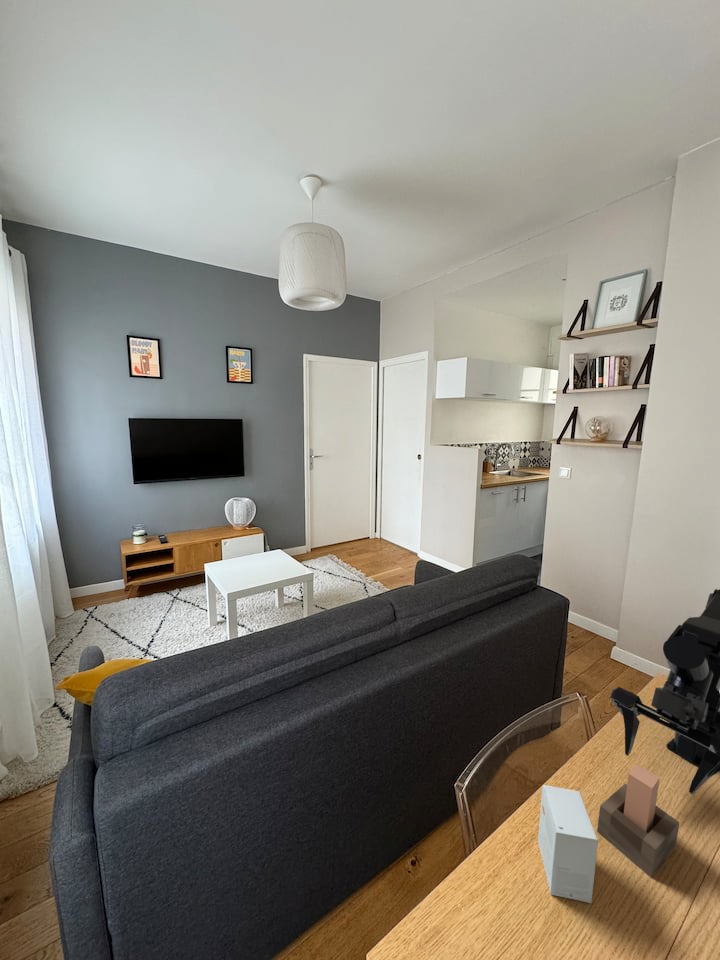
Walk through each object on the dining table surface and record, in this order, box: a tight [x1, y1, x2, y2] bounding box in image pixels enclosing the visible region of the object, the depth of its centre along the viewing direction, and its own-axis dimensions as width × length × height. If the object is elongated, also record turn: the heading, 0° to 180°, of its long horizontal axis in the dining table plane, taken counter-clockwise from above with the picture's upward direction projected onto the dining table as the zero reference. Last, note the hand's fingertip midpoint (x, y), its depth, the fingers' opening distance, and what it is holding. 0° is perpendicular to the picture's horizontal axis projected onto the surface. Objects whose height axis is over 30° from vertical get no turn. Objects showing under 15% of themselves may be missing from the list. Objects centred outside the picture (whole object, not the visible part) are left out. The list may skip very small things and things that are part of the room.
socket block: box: [596, 783, 680, 878], centre depth 66 cm, size 8×8×5 cm
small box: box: [537, 784, 599, 904], centre depth 61 cm, size 8×6×10 cm
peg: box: [624, 763, 660, 833], centre depth 65 cm, size 3×3×11 cm
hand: (657, 773), depth 69 cm, fingers open, 9 cm apart
